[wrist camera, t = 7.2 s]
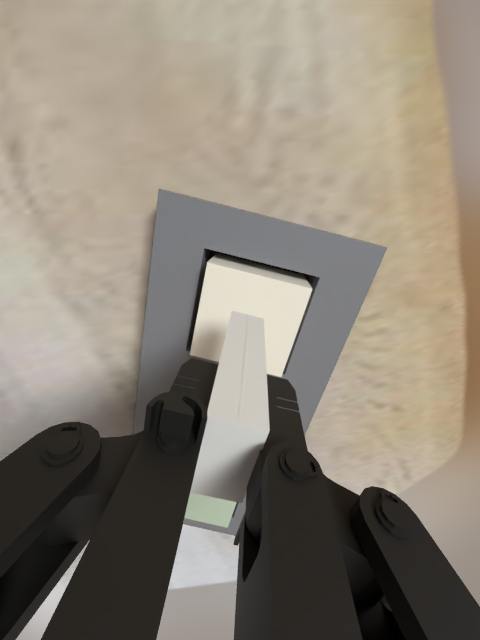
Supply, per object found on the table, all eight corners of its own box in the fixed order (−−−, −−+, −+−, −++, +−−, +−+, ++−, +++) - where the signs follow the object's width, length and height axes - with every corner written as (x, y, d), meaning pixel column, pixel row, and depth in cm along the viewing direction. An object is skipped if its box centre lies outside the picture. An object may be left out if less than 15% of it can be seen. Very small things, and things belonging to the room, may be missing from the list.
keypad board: (172, 191, 17) (158, 188, 15) (370, 242, 17) (387, 247, 15) (135, 485, 28) (124, 510, 25) (258, 513, 28) (258, 540, 26)
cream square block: (216, 253, 18) (207, 262, 15) (303, 274, 18) (312, 288, 15) (200, 332, 20) (189, 355, 17) (277, 350, 20) (281, 377, 17)
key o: (181, 430, 24) (168, 464, 21) (246, 445, 24) (244, 481, 21) (172, 475, 26) (159, 512, 23) (231, 489, 26) (227, 527, 23)
